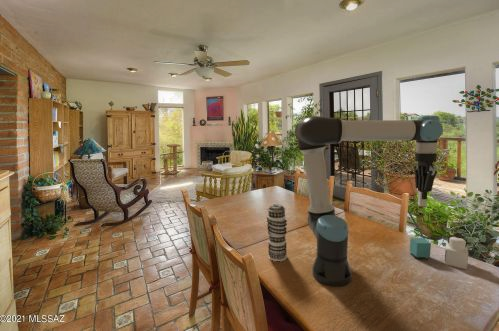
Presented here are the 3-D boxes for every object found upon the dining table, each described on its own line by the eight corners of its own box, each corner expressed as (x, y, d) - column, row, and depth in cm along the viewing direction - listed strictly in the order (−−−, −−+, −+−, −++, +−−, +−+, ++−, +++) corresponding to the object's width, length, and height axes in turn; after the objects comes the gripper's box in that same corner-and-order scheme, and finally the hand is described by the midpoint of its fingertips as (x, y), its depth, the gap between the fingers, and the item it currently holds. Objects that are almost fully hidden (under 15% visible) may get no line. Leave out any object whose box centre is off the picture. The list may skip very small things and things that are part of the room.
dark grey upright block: (415, 259, 109) (416, 244, 108) (409, 253, 113) (410, 239, 112) (427, 259, 108) (429, 244, 107) (421, 253, 113) (422, 239, 112)
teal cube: (416, 257, 108) (417, 243, 107) (409, 250, 114) (410, 237, 113) (429, 257, 107) (430, 243, 106) (422, 251, 113) (423, 237, 112)
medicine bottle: (444, 257, 109) (446, 232, 108) (466, 262, 105) (468, 236, 103) (444, 264, 104) (446, 238, 102) (466, 270, 99) (469, 242, 98)
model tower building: (263, 257, 114) (262, 206, 111) (275, 250, 121) (274, 201, 118) (279, 264, 108) (278, 210, 105) (291, 256, 115) (290, 205, 111)
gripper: (445, 153, 97) (440, 210, 100) (426, 150, 110) (422, 201, 113) (425, 154, 98) (421, 210, 101) (408, 151, 111) (405, 201, 114)
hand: (422, 205), depth 107 cm, fingers closed
